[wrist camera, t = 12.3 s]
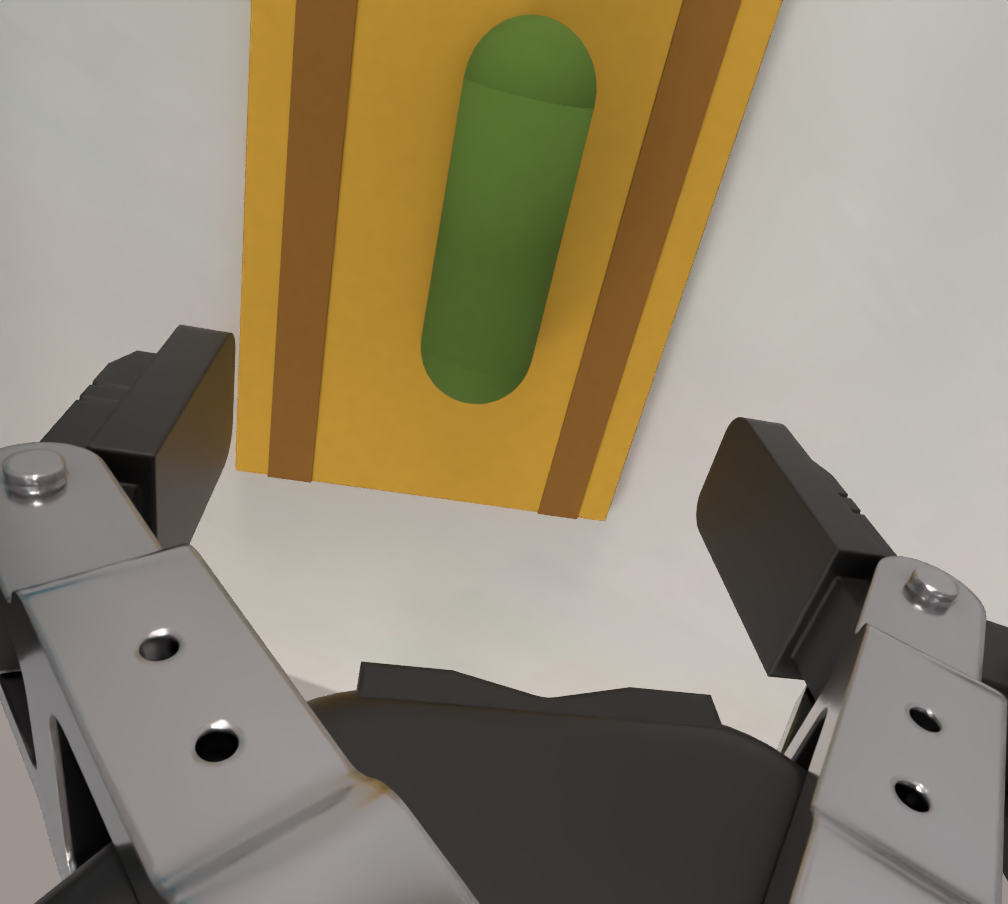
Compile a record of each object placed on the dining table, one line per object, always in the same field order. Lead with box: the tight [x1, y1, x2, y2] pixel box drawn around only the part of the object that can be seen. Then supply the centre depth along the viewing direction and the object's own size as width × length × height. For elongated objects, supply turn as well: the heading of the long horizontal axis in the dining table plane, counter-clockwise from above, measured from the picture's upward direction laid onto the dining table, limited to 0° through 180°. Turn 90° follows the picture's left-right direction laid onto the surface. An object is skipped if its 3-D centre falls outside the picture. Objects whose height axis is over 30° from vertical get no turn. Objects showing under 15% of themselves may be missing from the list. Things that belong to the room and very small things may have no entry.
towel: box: [235, 0, 783, 521], centre depth 24 cm, size 14×22×1 cm, turn 168°
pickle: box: [420, 14, 597, 404], centre depth 22 cm, size 4×11×4 cm, turn 168°
